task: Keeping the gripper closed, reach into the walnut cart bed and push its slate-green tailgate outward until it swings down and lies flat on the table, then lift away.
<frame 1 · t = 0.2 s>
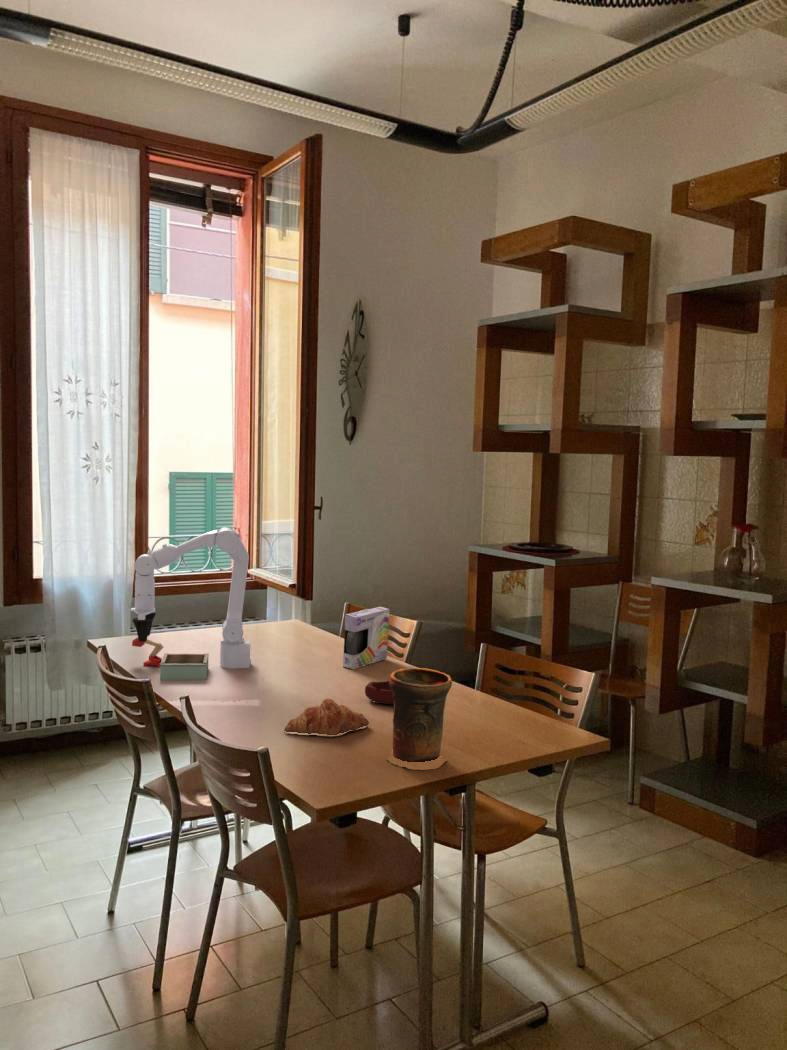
hand: (144, 638, 262), 10 cm above the table, tool pointing down, fingers open, 7 cm apart
red desk lamp: (155, 670, 265), on the table
ashtray: (401, 702, 244), on the table
tailgate: (183, 671, 251), point 4 cm above the table, hinge at 0.0°
vessel: (416, 760, 199), on the table
cart bed: (184, 677, 257), on the table
pastry: (326, 731, 217), on the table
cake pan box: (364, 664, 282), on the table
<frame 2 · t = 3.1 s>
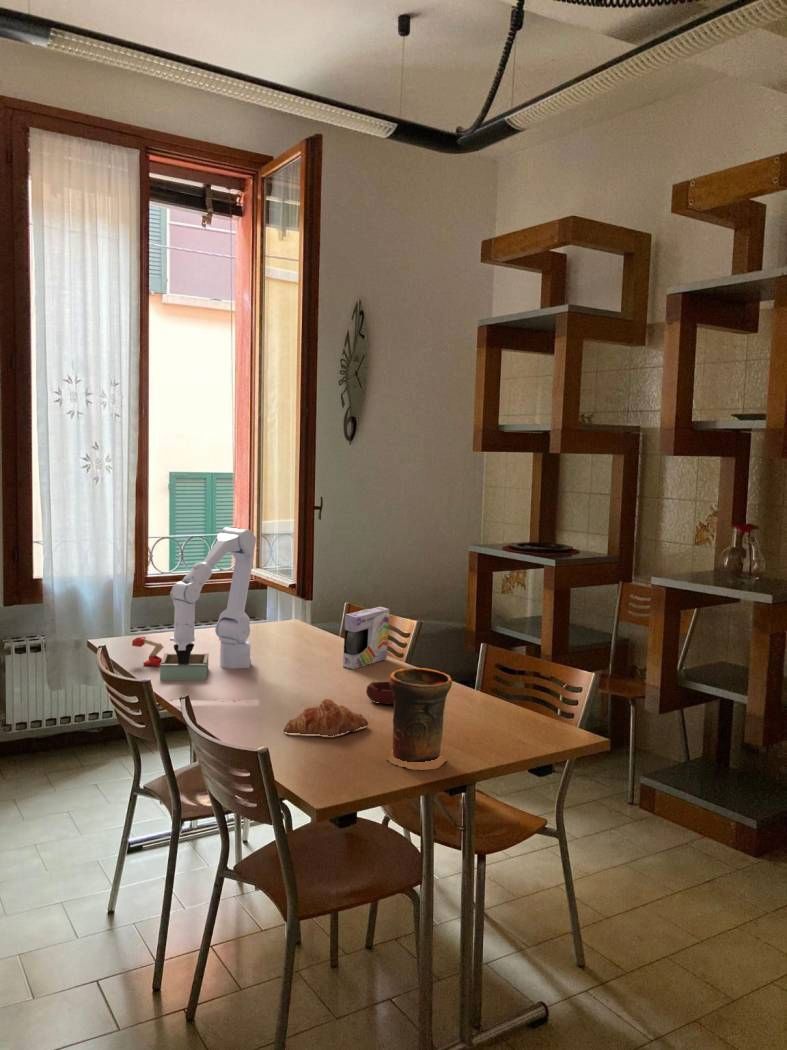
hand: (183, 668, 251), 4 cm above the table, tool pointing down, fingers closed, pressing on tailgate
tailgate: (183, 671, 251), point 4 cm above the table, hinge at 3.1°, touching gripper
everything else where it was.
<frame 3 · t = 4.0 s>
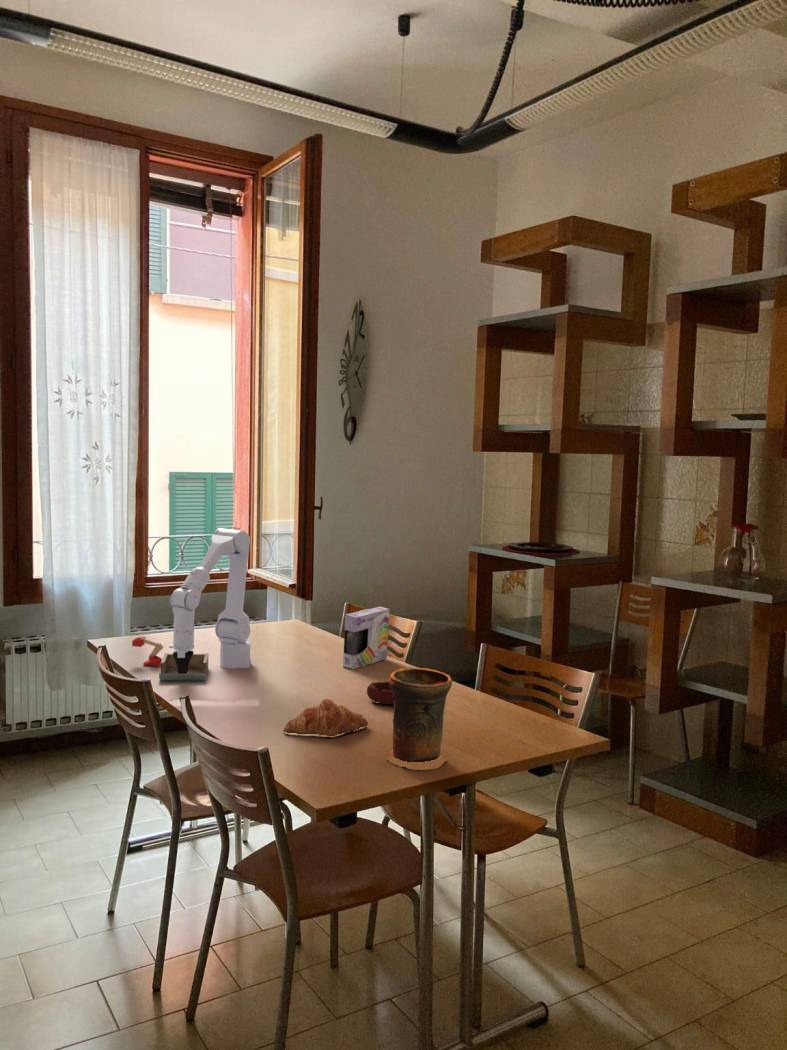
hand: (182, 676, 249), 3 cm above the table, tool pointing down, fingers closed, pressing on tailgate
tailgate: (182, 677, 249), point 2 cm above the table, hinge at 55.8°, touching gripper
everything else where it was.
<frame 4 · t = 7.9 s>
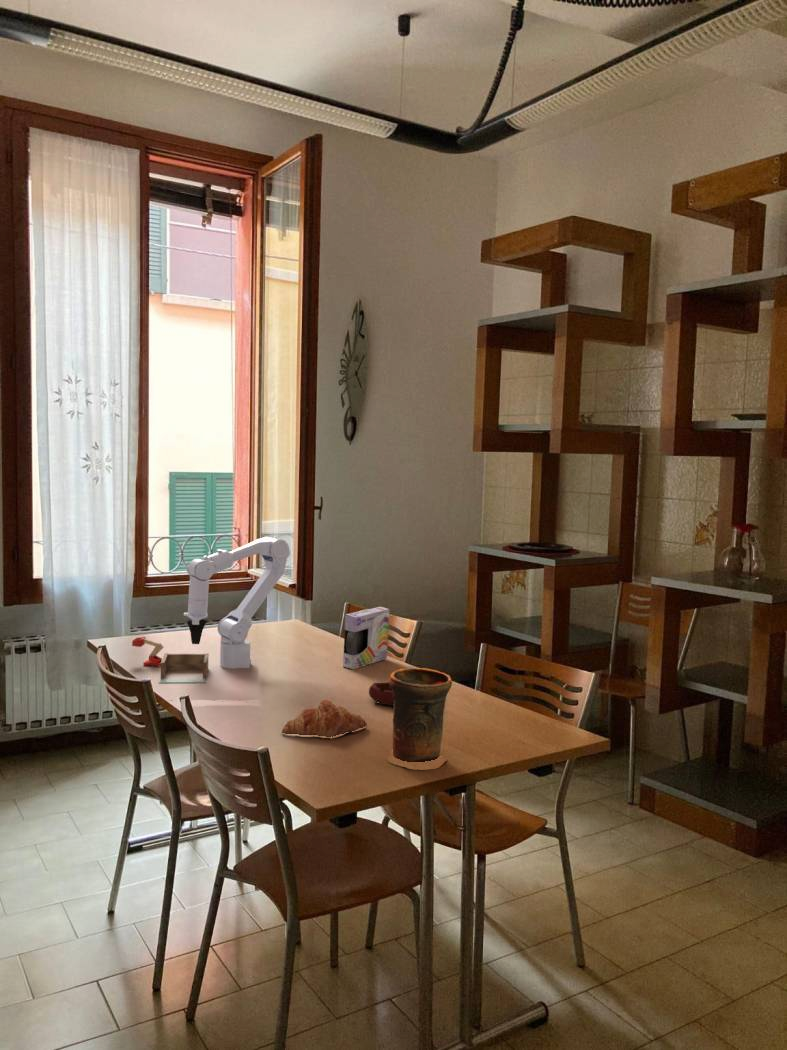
hand: (195, 643, 261), 9 cm above the table, tool pointing down, fingers closed
tailgate: (182, 682, 249), point 1 cm above the table, hinge at 88.1°
at the end: tailgate at +88° (first picture: +0°); red desk lamp moved 0.3 cm from its start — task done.
